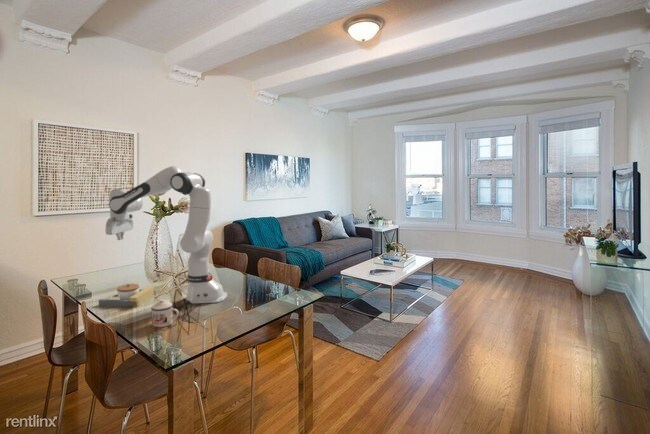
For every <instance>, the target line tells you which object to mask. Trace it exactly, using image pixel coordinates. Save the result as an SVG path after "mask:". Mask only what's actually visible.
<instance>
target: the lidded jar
mask: <svg viewBox="0 0 650 434" xmlns="http://www.w3.org/2000/svg"><path fill="white" fill-rule="evenodd" d="M139 289H140V285H139V284H138V283H126V284H122V285H120V286H118V287H117V288H116V291H117V295H118V298H119V300H129V298H130V297H131V296H133V295H135V294H136V293H138V292H139Z"/></svg>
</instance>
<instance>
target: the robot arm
mask: <svg viewBox="0 0 650 434" xmlns="http://www.w3.org/2000/svg"><path fill="white" fill-rule="evenodd" d="M205 186H206V180H205V177H204V176H202V175H201V174H200V173H196V172H195V173H194V172H188V171H187V172H186V171H185V172H183V171H182V169H180V168H179V167H177V166H174V165H172V166H168V167H166V168H164V169H162V170H160V171H158V172H157V173H156V174H154V175H152V176H151V177H149V178H148V179H147V180H145V181H143V182H141V183H140V184H138V185H136V186H134V187H133V188H131V189H130V190H128V191H127V190H126V189H124V188H119V189H118V188H117V189H112V190H111V191H110V192H109V197H108V199H109V200H108V207H109V215H110V216H109V217H110V218H108V219H107V221H106V223H105V234H106V235H107V236H113V235H115V236H116V240H117V241H121V240H124V237H125V232H129V231H131V230H133V228H134V220H133V218H134V215H133V213H134V212H137V211H140V210H141V209H142V208H143V199H142V198H145V197H151V196H157V195H158V196H159V195H162V194H164V193H167V192H169V191H170V190H172V189H173V191H176V192H178V193H179V194H183V196H189V211H188V220H187V224H186V226H185V231H184V234H183V236H182V238H181V239H180V240H179V241H180V242H179V245H180V248H181V249H182V250H183V252H185V253H187V254H188V253H189V254H190V255H189V257H188V261H187V283H188V284H187V293H186V297H185V299H186V301H188V302H189V303H191V304H208V303H209V304H216V303H220V302H222V301H224V300H225V299H227V297H228V292H226V291H224V288H223V285H222V284H221V283H219V282H217V281H216V280H214V279H213V276H214V273H210V265H209V264H210V263H209V262H210V261H209V259H210V253H211V249H212V248H211V247H212V243H213V241H214V233H213V232H212V231H211V230H210V229H207V228H208V225H209V223H210V220H211V208H212V197H211V191H210V189H208V188H207V187H205ZM132 212H133V213H132ZM131 213H132V214H131Z"/></svg>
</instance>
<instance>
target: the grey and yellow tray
mask: <svg viewBox="0 0 650 434" xmlns="http://www.w3.org/2000/svg"><path fill="white" fill-rule="evenodd" d="M154 295H155V296H156V286H152V285H149V286H147V287H145V288H143V289H142V288H141V289H140V288H139V292H138V293H136V294H135V295H133V296H131V297H130V298H129V300H121V299H107V298H105V299H103V298H101V299H98V306H99V307H100V306H103V307H130V308H132V307H134V308H137V307H139V306H141V305H142V304H144V303H145V302H147V301H148V300H150V299H151V298H153V297H154ZM149 298H150V299H149ZM146 300H147V301H146ZM143 302H144V303H143ZM140 304H141V305H140Z"/></svg>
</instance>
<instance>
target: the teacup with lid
mask: <svg viewBox="0 0 650 434" xmlns="http://www.w3.org/2000/svg"><path fill="white" fill-rule="evenodd" d="M173 307H174V306H173V303H172V302H170V301H166V300H164V299H160V300H158V302H156V303H153V304H152V305H151V308H150V309H151V314H152V315H151V317H152V326H153V327H154V326H155V328H164V327H168V326H170V325H172V324H173V322H174V320H175V319H176V318H178V316H179V313H180V312H179V310H178V309H177V308H173ZM173 311H174V312H175V313H176V314H175V316H173Z"/></svg>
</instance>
